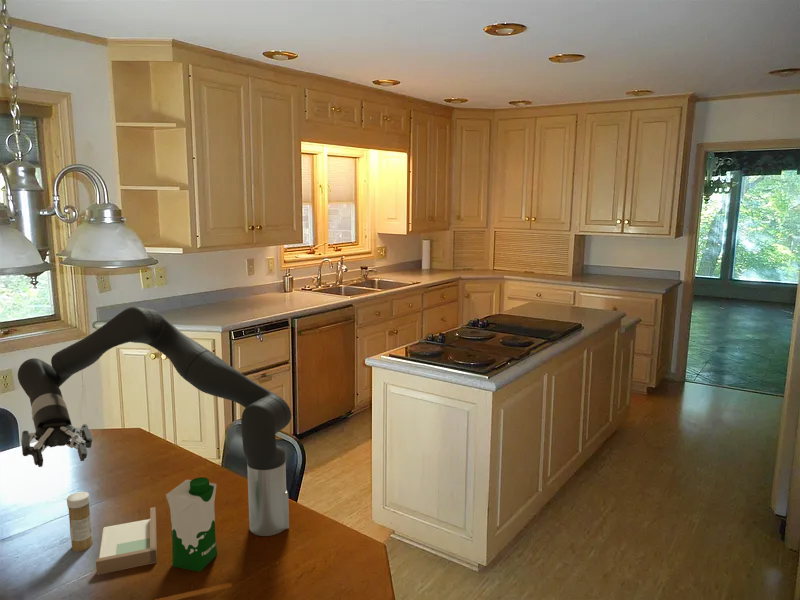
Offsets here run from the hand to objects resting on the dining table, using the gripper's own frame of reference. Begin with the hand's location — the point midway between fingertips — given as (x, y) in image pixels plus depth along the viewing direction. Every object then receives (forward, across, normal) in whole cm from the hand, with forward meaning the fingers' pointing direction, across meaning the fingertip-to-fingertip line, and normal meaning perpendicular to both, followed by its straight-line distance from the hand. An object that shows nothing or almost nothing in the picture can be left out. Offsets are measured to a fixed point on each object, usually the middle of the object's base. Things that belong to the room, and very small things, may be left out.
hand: (62, 461), depth 136 cm
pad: (+18, +13, +13) cm, 26 cm away
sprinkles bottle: (+11, +5, +18) cm, 22 cm away
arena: (+16, +13, +15) cm, 25 cm away
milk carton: (+30, +23, +8) cm, 38 cm away
